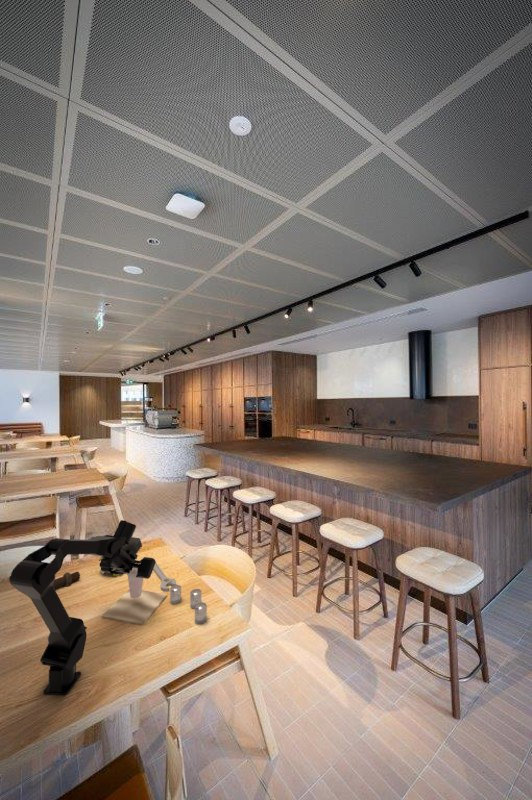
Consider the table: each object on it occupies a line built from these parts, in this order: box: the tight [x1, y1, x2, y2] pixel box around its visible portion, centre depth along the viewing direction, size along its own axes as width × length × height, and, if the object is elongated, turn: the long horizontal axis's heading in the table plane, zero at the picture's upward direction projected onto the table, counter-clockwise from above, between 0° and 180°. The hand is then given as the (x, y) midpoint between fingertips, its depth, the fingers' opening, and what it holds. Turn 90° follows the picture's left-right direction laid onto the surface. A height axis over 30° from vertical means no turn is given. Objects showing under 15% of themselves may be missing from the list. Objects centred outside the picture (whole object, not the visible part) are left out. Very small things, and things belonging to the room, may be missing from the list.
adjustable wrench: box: [152, 562, 177, 593], centre depth 139 cm, size 25×6×2 cm, turn 32°
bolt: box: [53, 571, 81, 589], centre depth 130 cm, size 6×5×15 cm
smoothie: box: [126, 568, 144, 599], centre depth 118 cm, size 6×6×14 cm
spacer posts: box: [169, 584, 208, 625], centre depth 118 cm, size 8×19×5 cm, turn 48°
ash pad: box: [101, 589, 168, 626], centre depth 119 cm, size 16×16×1 cm
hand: (138, 572), depth 120 cm, fingers closed on smoothie, 6 cm apart
